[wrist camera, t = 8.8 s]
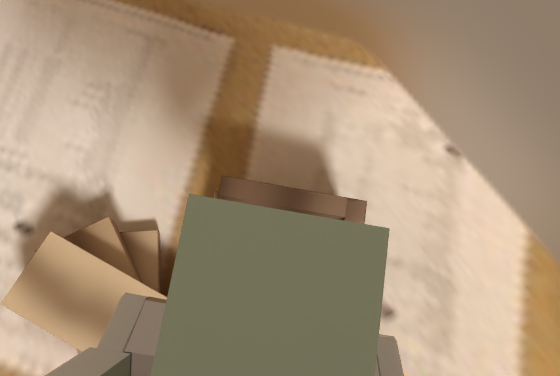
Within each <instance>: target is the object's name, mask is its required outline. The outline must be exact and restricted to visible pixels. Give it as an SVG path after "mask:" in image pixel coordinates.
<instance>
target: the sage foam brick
mask: <svg viewBox="0 0 560 376" xmlns="http://www.w3.org/2000/svg"><path fill="white" fill-rule="evenodd" d="M388 238H389V228H384V227H378V226H372V225H366V224H361V223H355V222H349V221H343V220H338V219H332V218H326V217H320V216H314V215H309V214H303V213H297V212H291V211H286V210H280V209H274V208H268V207H262V206H257V205H251V204H245V203H239V202H234V201H228V200H222V199H216V198H210V197H205V196H199V195H193V194H189V197H188V202H187V206H186V211H185V216H184V220H183V225H182V230H181V234H180V239H179V244H178V249H177V253H176V258H175V263H174V267H173V272H172V277H171V281H170V286H169V291H168V296H167V300H166V305H165V310H164V314H163V319H162V324H161V328H160V333H159V338H158V343H157V347H156V352H155V357H154V361H153V366H152V371H151V375H150V376H375V367H376V357H377V347H378V337H379V327H380V317H381V307H382V298H383V288H384V278H385V268H386V258H387V248H388Z"/></svg>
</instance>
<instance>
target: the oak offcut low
mask: <svg viewBox="0 0 560 376" xmlns="http://www.w3.org/2000/svg"><path fill="white" fill-rule="evenodd" d="M119 233H120V235H121V237H122V239H123V241H124V243H125V245H126V248H127V250H128V252H129V254H130V256H131V258H132V261H133V263H134V265H135V267H136V269H137V271H138V274H139V276H140V278H141V280H142V282H143V283H144V284H145V285H147V286H149V287H151V288H152V289H154V290H156V291H158V292H159V293H161V289H160V233H159V232H158V230H152V231H135V232H119Z"/></svg>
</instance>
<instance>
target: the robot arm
mask: <svg viewBox="0 0 560 376" xmlns="http://www.w3.org/2000/svg"><path fill="white" fill-rule="evenodd" d="M165 305H166V300H165V299H160V298H155V297H150V296H148V297H146V296H141V295H136V294H131V293H126V292H125V293H124V295H123V296H122V297H121V298H120V300H119V302H118V304H117V307H116V309H115V311H114V313H113V315H112V317H111V319H110V321H109V323H108V325H107V327H106V329H105V332H104V334H103V336H102V338H101V340H100V342H99V344H98V346H97V348H93V347H89V348H87V349H86V350H84V351H83V352H81V353H80V354H78V355H76V356H75V357H73V358H72V359H70V360H69V361H67V362H66V363H64V364H62V365H61V366H59V367H58V368H56V369H55V370H53V371H51V372H50V373H48V374H47V375H45V376H150V375H151V371H152V366H153V361H154V357H155V352H156V347H157V343H158V338H159V333H160V328H161V324H162V319H163V314H164V310H165ZM375 376H404V375H403V370H402V365H401V360H400V355H399V350H398V345H397V341H396V339H395V338H394V337H393V336H387V335H380V334H379V337H378V347H377V357H376V367H375Z"/></svg>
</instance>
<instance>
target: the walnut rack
mask: <svg viewBox="0 0 560 376" xmlns="http://www.w3.org/2000/svg"><path fill="white" fill-rule="evenodd" d="M213 198H216V199H222V200H228V201H234V202H239V203H245V204H251V205H257V206H262V207H268V208H274V209H280V210H286V211H291V212H297V213H303V214H309V215H314V216H320V217H326V218H332V219H338V220H343V221H349V222H355V223H361V224H364V223H365V214H366V206H367V201H363V200H358V199H352V198H346V197H341V196H335V195H329V194H324V193H318V192H312V191H307V190H301V189H295V188H290V187H284V186H278V185H273V184H267V183H261V182H256V181H250V180H244V179H239V178H233V177H227V176H222V178H221V183H220V188H219V191H214V196H213Z"/></svg>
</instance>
